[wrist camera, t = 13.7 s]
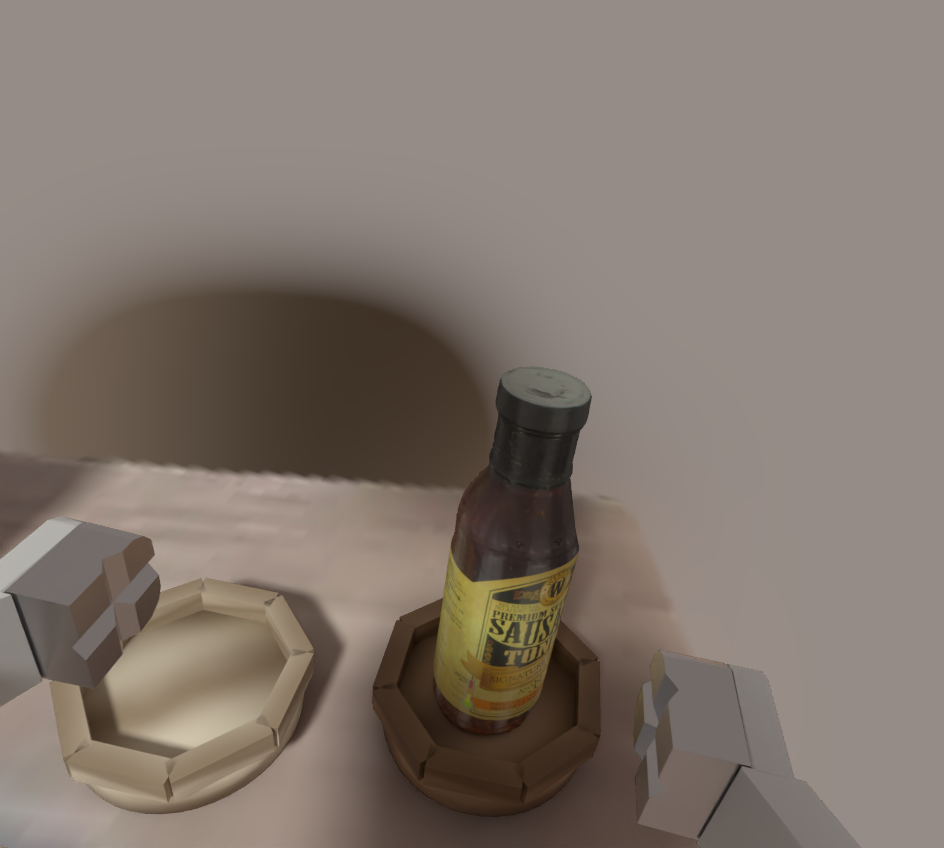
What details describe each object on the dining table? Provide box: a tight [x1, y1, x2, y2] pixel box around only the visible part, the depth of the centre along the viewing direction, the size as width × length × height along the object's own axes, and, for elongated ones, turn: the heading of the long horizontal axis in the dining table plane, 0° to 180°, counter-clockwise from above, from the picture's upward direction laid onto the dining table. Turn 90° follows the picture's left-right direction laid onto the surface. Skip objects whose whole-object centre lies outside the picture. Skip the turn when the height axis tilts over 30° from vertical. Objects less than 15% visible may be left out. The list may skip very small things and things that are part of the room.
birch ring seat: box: [50, 578, 315, 814], centre depth 36 cm, size 12×12×4 cm
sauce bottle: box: [433, 367, 592, 735], centre depth 32 cm, size 7×6×20 cm
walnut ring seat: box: [372, 598, 600, 817], centre depth 37 cm, size 12×12×4 cm
